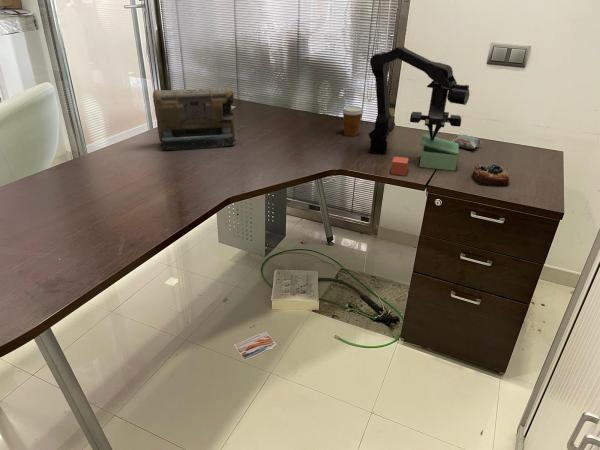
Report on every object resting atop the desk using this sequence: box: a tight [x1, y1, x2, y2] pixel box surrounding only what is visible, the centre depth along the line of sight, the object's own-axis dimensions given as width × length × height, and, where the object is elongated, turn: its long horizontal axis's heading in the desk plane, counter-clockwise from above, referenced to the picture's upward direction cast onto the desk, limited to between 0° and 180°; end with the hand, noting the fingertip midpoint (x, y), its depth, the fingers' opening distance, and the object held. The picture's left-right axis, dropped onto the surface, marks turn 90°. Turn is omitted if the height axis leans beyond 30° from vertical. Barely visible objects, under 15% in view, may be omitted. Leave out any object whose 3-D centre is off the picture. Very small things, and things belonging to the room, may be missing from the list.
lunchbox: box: [419, 145, 459, 172], centre depth 180 cm, size 14×12×6 cm
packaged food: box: [450, 134, 483, 150], centre depth 197 cm, size 9×12×5 cm
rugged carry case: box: [152, 86, 236, 151], centre depth 192 cm, size 33×14×25 cm, turn 108°
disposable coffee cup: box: [341, 105, 364, 137], centre depth 210 cm, size 10×10×12 cm
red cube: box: [390, 156, 410, 177], centre depth 172 cm, size 6×6×5 cm
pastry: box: [472, 164, 510, 187], centre depth 166 cm, size 11×12×6 cm
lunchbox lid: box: [420, 133, 460, 156], centre depth 178 cm, size 14×12×1 cm
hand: (431, 140), depth 178 cm, fingers closed
